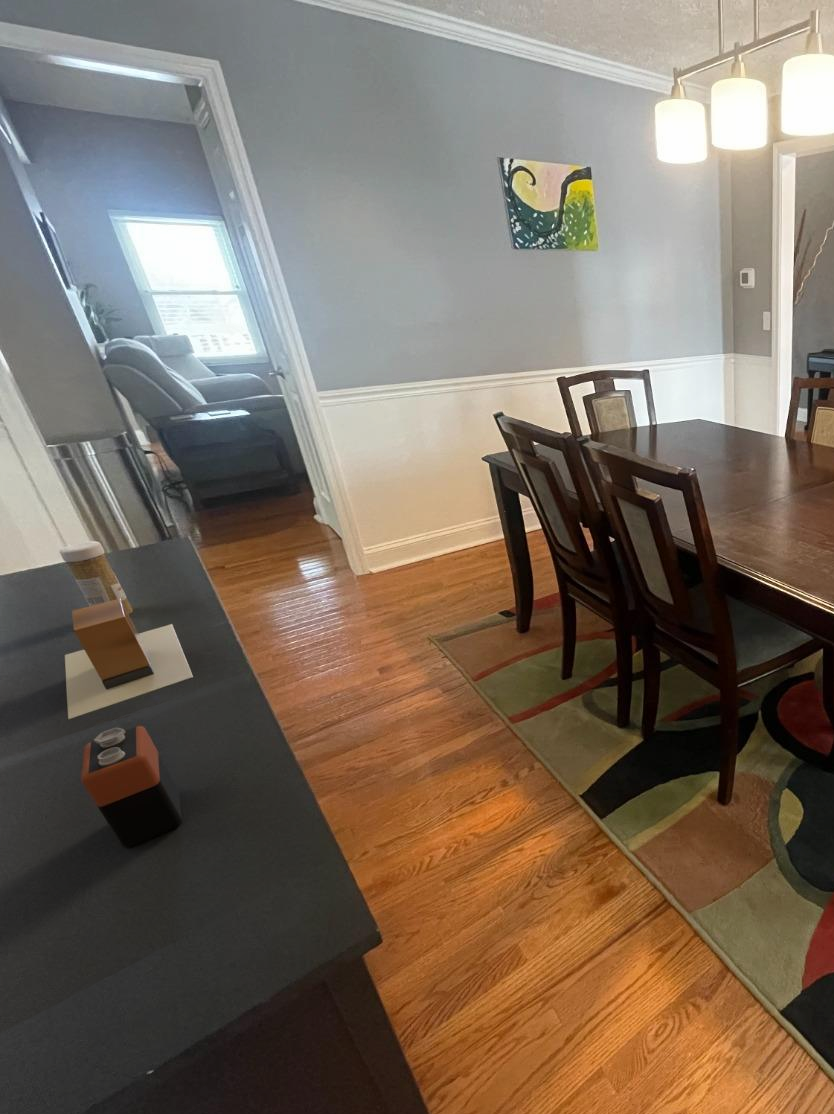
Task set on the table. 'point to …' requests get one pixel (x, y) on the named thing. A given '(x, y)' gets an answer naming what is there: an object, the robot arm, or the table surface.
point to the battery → (131, 785)
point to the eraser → (112, 643)
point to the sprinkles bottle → (94, 573)
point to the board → (92, 694)
